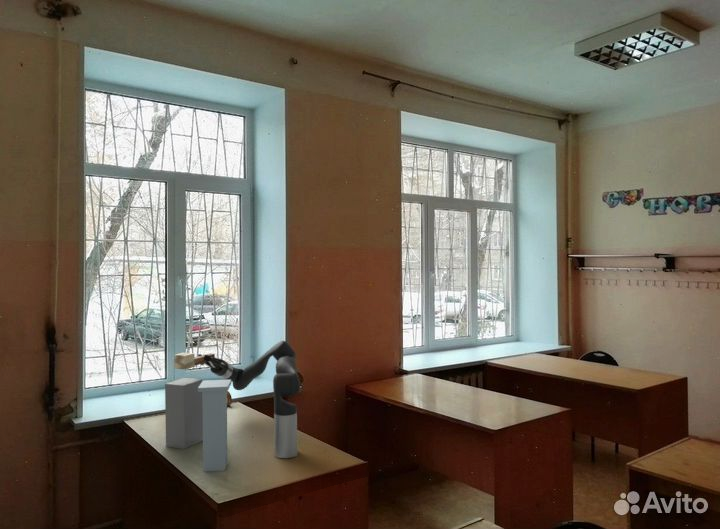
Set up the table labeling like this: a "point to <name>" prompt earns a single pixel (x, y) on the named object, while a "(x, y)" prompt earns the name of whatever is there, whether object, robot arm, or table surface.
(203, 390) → the tall plinth
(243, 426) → the table surface
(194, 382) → the grey tall block
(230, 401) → the tin
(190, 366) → the brown wooden bar
